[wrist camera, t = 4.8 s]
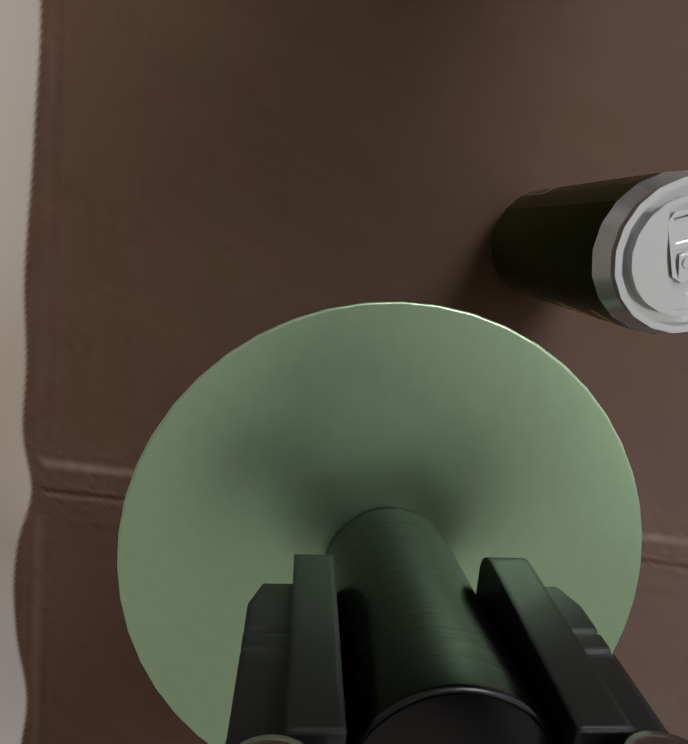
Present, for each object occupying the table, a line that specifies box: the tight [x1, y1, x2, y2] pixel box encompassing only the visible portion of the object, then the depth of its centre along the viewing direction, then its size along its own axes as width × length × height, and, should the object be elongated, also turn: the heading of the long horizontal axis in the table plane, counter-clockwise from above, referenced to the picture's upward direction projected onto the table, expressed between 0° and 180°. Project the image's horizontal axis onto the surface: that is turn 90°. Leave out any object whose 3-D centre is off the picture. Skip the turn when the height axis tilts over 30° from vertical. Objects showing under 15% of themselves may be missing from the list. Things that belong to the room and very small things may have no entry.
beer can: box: [492, 170, 688, 334], centre depth 23 cm, size 5×5×12 cm
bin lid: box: [117, 300, 642, 744], centre depth 10 cm, size 12×12×7 cm
